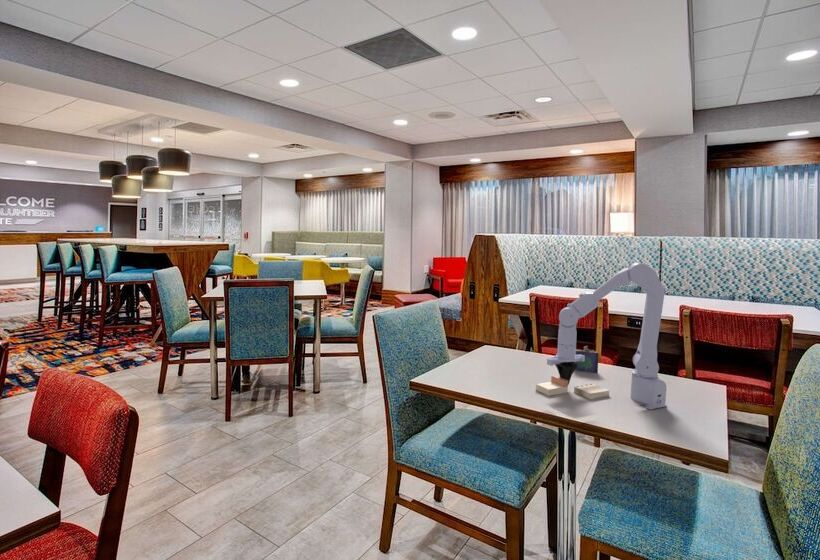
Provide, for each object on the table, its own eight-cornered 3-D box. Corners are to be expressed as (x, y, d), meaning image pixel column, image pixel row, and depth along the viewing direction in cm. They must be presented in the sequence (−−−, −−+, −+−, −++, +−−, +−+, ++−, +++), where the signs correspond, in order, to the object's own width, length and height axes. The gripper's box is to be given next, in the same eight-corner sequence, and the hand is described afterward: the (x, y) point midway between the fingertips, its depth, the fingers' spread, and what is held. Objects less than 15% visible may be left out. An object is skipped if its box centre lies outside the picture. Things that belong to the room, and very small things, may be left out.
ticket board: (616, 399, 146) (616, 390, 146) (568, 408, 138) (568, 398, 138) (578, 384, 161) (578, 376, 160) (533, 391, 152) (533, 382, 152)
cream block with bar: (567, 392, 149) (568, 380, 148) (548, 395, 145) (548, 383, 145) (554, 386, 154) (555, 375, 154) (535, 389, 151) (536, 378, 150)
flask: (571, 373, 175) (572, 345, 174) (572, 371, 177) (573, 344, 176) (597, 376, 171) (599, 348, 170) (597, 374, 173) (599, 346, 172)
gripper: (574, 339, 157) (572, 378, 159) (541, 343, 151) (539, 383, 152) (590, 344, 151) (588, 384, 152) (556, 348, 145) (554, 389, 146)
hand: (564, 384), depth 152 cm, fingers closed
